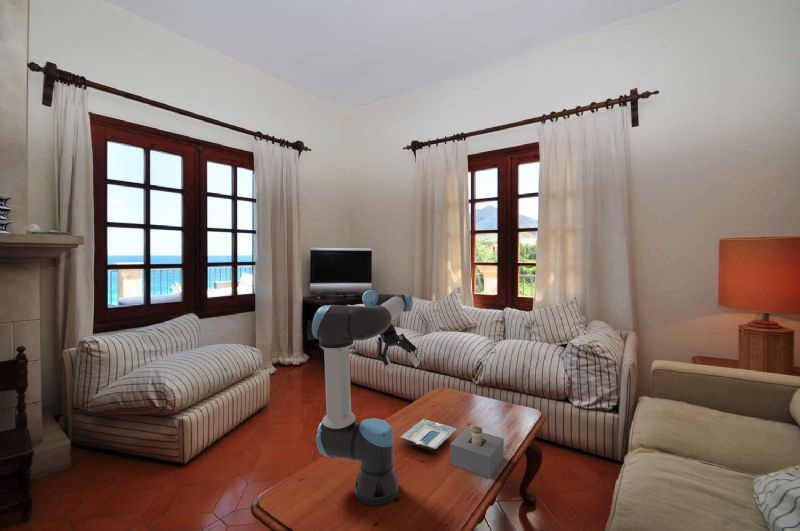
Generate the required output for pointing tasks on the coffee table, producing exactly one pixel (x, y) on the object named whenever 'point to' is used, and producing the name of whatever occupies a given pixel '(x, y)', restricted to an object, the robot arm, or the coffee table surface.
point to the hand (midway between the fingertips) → (404, 368)
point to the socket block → (477, 453)
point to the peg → (477, 436)
